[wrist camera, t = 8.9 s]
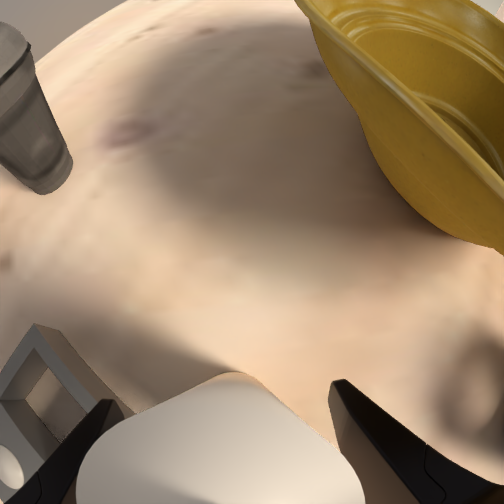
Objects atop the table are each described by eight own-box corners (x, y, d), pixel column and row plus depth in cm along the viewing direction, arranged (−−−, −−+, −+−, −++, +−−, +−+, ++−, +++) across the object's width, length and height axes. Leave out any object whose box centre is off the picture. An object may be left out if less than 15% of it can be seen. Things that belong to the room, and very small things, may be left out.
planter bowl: (412, 434, 15) (578, 465, 3) (205, 89, 25) (195, -43, 12) (565, 240, 22) (632, 192, 9) (422, 54, 31) (452, -16, 19)
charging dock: (107, 566, 10) (92, 585, 7) (-15, 440, 13) (-40, 443, 10) (214, 477, 14) (209, 497, 11) (59, 330, 17) (32, 322, 14)
